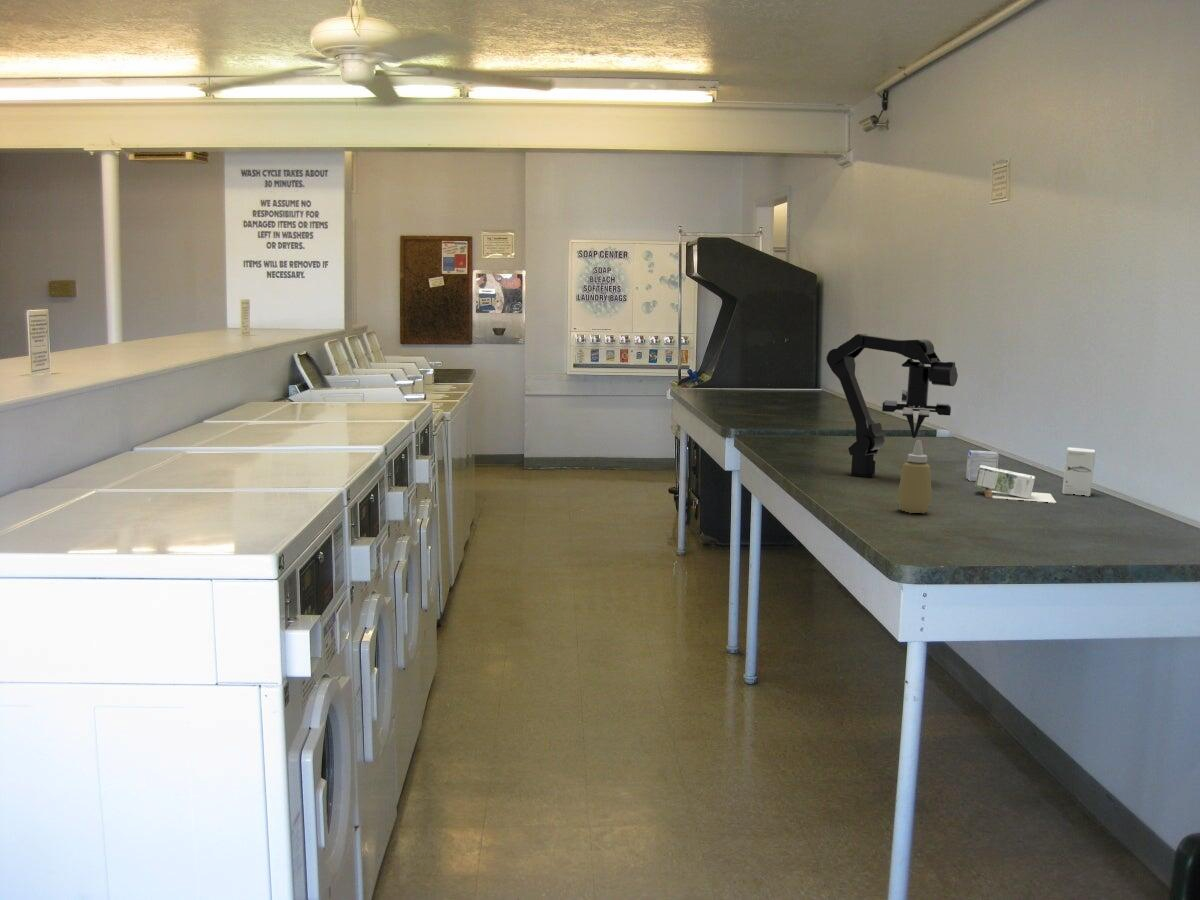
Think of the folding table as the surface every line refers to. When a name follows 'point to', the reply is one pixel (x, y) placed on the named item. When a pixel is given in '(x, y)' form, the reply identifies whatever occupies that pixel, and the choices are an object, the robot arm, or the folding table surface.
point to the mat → (1034, 497)
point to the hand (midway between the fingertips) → (914, 437)
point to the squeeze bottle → (915, 482)
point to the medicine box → (979, 462)
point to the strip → (988, 493)
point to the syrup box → (1005, 481)
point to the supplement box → (1078, 471)
